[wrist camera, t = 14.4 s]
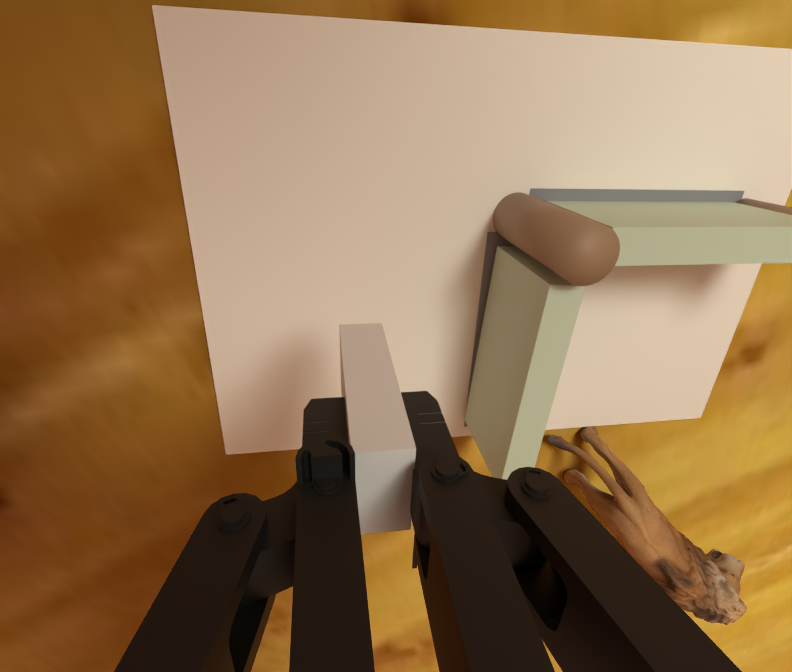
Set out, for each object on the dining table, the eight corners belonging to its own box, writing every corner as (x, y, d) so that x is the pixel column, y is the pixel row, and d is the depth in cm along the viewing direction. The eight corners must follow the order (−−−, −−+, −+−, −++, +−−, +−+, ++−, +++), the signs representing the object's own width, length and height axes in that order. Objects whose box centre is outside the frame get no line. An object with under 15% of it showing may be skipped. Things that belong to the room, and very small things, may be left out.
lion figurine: (681, 495, 36) (784, 603, 28) (628, 536, 38) (713, 651, 30) (572, 406, 30) (664, 512, 22) (515, 458, 32) (583, 576, 24)
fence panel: (464, 419, 29) (499, 490, 23) (497, 245, 24) (550, 284, 19) (488, 418, 29) (528, 488, 24) (525, 247, 24) (586, 286, 19)
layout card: (154, 6, 18) (151, 4, 18) (839, 53, 23) (846, 52, 23) (226, 451, 27) (225, 455, 27) (697, 415, 33) (700, 418, 32)
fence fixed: (496, 192, 23) (566, 223, 16) (762, 194, 25) (913, 223, 19) (490, 239, 24) (554, 286, 18) (746, 237, 26) (884, 278, 20)
